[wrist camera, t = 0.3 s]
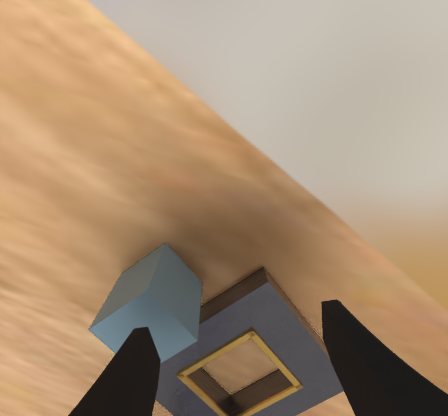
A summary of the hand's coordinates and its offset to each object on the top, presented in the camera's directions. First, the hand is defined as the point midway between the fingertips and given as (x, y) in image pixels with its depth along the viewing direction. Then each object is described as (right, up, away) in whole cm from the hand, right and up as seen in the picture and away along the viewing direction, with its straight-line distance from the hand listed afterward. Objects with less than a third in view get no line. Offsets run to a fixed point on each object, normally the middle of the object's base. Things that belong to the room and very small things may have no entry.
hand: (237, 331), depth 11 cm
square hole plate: (+1, -8, +13) cm, 16 cm away
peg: (-5, 0, +11) cm, 12 cm away
